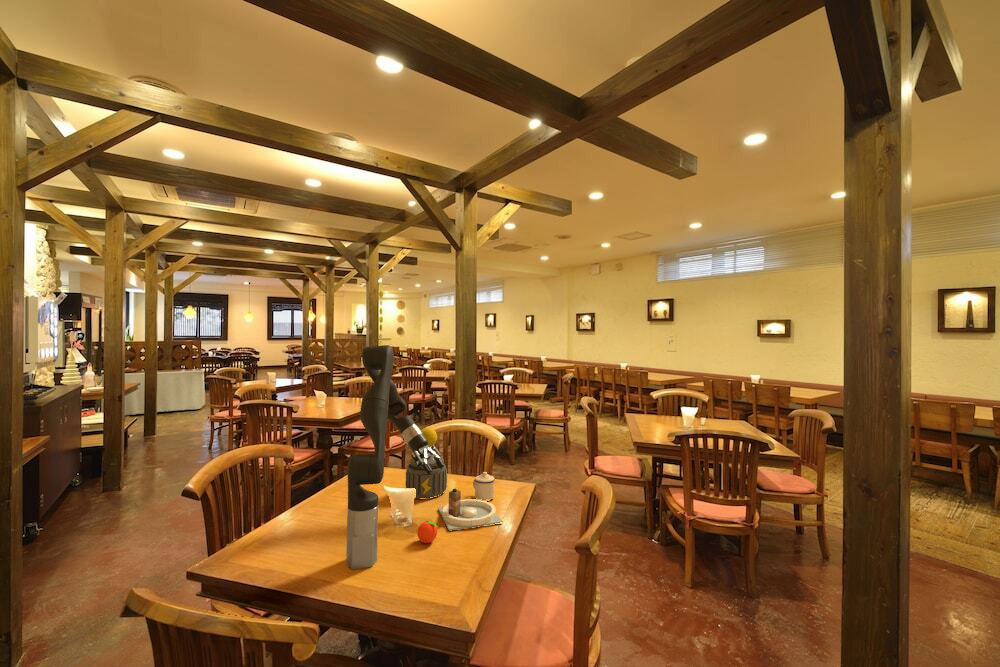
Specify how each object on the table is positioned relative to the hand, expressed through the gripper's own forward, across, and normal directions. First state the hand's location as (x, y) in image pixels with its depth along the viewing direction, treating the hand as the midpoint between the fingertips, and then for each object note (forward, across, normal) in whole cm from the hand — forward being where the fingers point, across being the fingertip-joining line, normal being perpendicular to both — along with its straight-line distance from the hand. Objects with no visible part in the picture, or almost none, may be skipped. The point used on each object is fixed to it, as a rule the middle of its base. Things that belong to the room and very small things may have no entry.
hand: (436, 470), depth 163 cm
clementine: (+21, -20, +5) cm, 29 cm away
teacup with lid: (+18, +25, +6) cm, 32 cm away
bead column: (+18, +1, +6) cm, 19 cm away
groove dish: (+22, +5, +3) cm, 22 cm away
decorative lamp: (0, +19, +25) cm, 32 cm away
